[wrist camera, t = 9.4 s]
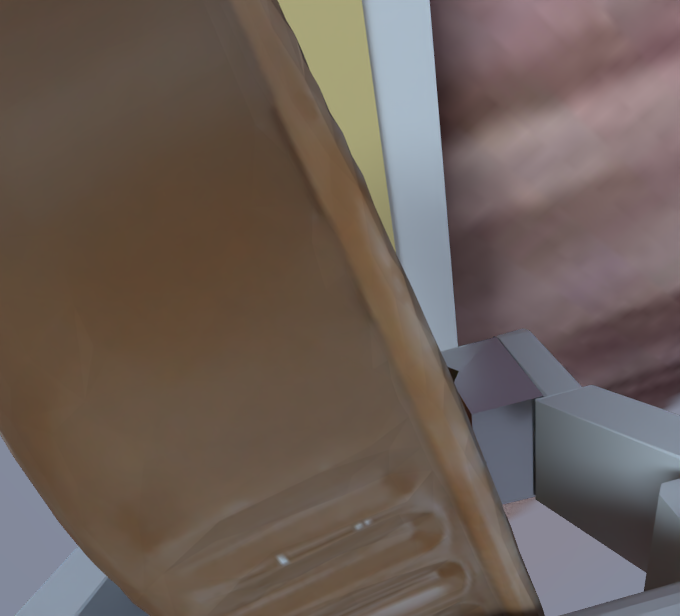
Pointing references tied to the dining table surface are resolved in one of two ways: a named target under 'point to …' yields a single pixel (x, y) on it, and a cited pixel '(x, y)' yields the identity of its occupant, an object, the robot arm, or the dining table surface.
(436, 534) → the tin
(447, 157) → the dining table surface
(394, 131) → the dock
